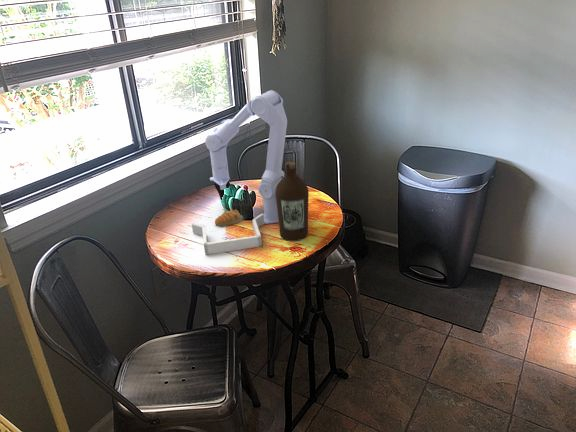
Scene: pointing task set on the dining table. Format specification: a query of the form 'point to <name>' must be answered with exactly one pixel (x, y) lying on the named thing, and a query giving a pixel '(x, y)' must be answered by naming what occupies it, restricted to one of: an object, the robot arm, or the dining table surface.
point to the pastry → (228, 218)
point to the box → (232, 243)
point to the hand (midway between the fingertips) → (223, 200)
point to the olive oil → (292, 205)
